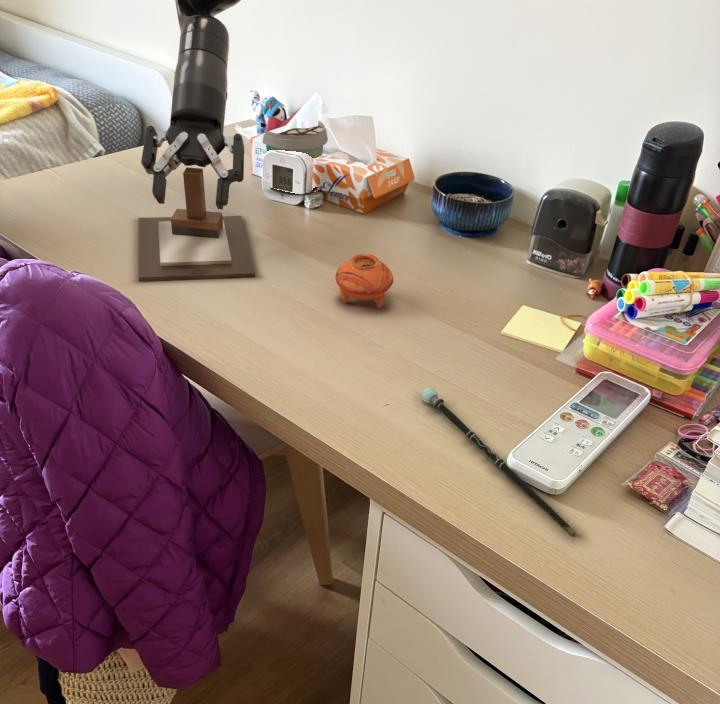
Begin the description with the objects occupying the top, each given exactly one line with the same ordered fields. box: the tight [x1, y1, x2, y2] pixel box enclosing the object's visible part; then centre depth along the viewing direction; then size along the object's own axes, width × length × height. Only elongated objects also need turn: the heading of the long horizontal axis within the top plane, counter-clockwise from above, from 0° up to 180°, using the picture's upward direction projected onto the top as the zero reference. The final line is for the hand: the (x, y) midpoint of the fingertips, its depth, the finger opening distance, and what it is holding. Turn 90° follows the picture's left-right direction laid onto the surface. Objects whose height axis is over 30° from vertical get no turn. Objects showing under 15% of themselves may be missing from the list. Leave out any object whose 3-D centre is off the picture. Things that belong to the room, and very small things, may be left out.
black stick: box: [421, 387, 577, 536], centre depth 76 cm, size 2×25×2 cm
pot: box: [334, 253, 394, 309], centre depth 98 cm, size 8×8×7 cm
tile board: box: [138, 215, 256, 282], centre depth 107 cm, size 16×20×1 cm
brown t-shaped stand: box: [171, 166, 224, 238], centre depth 106 cm, size 7×4×9 cm, turn 88°
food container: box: [262, 120, 329, 196], centre depth 124 cm, size 12×6×10 cm, turn 129°
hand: (189, 204), depth 103 cm, fingers open, 8 cm apart
